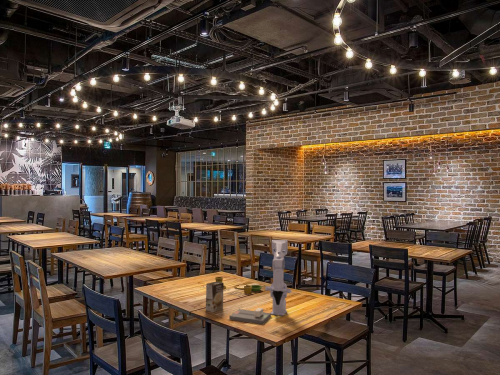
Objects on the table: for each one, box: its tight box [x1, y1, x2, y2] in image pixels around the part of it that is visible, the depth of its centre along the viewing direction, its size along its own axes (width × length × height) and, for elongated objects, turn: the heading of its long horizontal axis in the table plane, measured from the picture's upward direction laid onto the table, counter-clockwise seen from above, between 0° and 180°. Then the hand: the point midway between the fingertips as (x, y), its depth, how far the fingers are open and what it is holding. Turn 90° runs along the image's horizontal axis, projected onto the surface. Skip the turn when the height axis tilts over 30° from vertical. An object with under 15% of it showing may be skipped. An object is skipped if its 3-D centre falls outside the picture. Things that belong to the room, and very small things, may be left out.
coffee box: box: [205, 281, 225, 313], centre depth 238 cm, size 9×6×16 cm
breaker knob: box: [254, 307, 264, 317], centre depth 221 cm, size 3×6×3 cm, turn 158°
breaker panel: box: [229, 308, 272, 325], centre depth 223 cm, size 20×14×2 cm
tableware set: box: [202, 276, 263, 297], centre depth 290 cm, size 41×28×6 cm
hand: (277, 304), depth 218 cm, fingers closed
